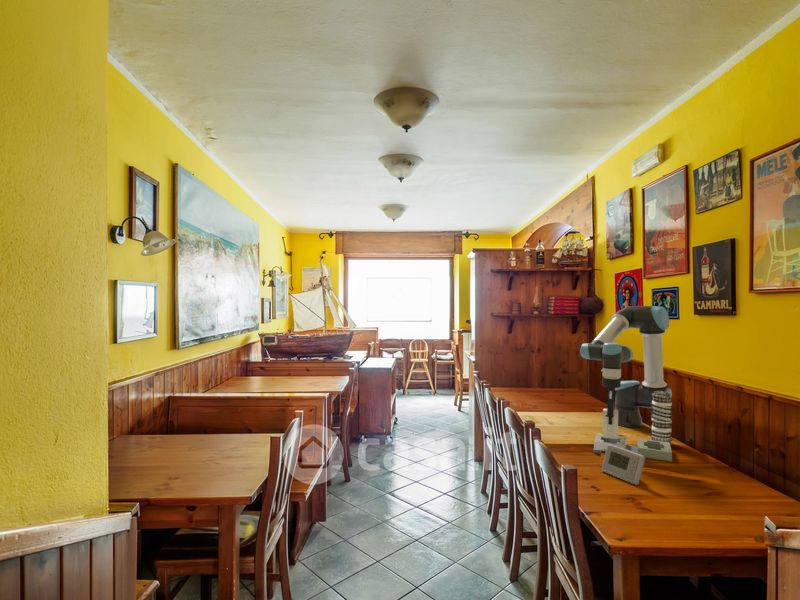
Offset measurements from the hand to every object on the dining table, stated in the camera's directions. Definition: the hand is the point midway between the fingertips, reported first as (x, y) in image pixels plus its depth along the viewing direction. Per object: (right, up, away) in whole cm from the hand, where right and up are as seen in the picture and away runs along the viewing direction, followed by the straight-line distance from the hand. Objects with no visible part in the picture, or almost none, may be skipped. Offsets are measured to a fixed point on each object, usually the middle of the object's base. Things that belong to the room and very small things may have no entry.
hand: (610, 429), depth 206 cm
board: (+8, -9, -4) cm, 13 cm away
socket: (0, -8, 0) cm, 8 cm away
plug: (0, -3, 0) cm, 3 cm away
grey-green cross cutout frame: (+15, -8, -8) cm, 19 cm away
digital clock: (-10, -9, -31) cm, 34 cm away
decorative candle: (+27, -10, +8) cm, 30 cm away
